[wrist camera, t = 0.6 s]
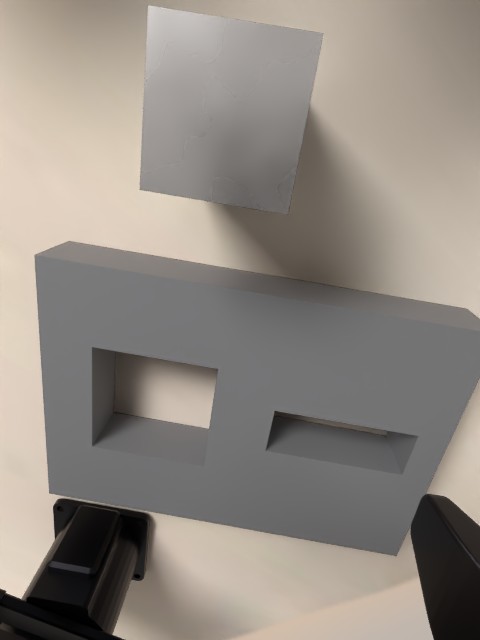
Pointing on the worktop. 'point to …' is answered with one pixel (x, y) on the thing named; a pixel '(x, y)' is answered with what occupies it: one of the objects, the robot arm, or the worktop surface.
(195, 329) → the socket board
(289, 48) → the square peg
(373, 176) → the worktop surface
